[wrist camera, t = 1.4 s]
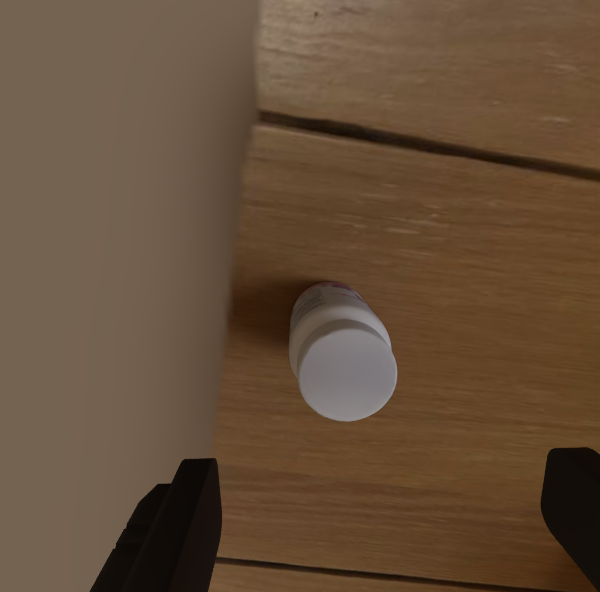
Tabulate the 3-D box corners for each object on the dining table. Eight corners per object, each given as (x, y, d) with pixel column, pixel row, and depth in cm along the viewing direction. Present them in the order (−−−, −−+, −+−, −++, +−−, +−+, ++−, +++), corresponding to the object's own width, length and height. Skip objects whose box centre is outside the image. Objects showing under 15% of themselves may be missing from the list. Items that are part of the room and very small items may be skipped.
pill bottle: (382, 312, 22) (434, 370, 14) (332, 366, 23) (353, 452, 14) (324, 264, 21) (342, 295, 13) (275, 322, 22) (262, 386, 14)
